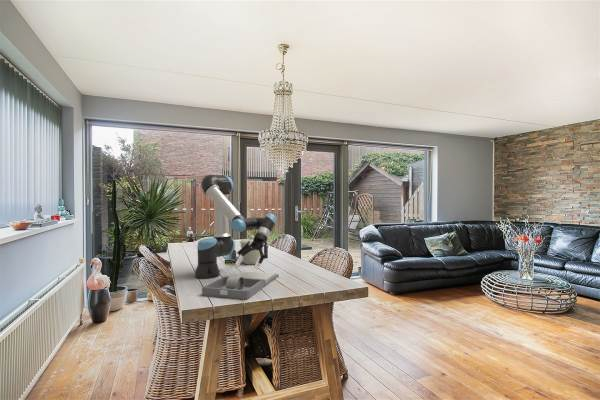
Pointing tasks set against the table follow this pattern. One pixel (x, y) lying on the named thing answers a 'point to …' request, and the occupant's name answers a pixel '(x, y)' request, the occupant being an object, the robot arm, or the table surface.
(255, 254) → the canister
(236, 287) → the ceramic mug
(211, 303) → the table surface
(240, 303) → the table surface
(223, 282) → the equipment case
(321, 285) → the table surface
